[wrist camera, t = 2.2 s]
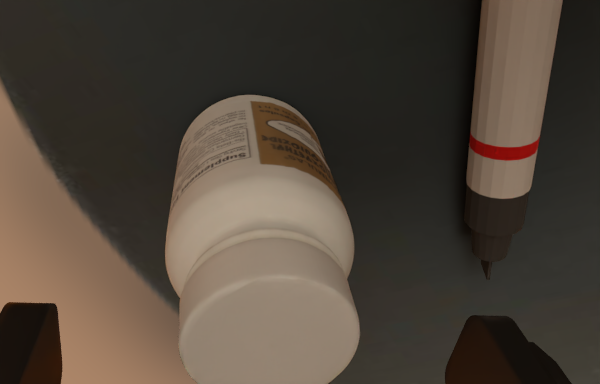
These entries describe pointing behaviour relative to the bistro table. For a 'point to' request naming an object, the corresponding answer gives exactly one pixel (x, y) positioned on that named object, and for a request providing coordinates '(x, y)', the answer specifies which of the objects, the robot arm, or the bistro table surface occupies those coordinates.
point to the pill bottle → (259, 249)
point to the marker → (507, 118)
